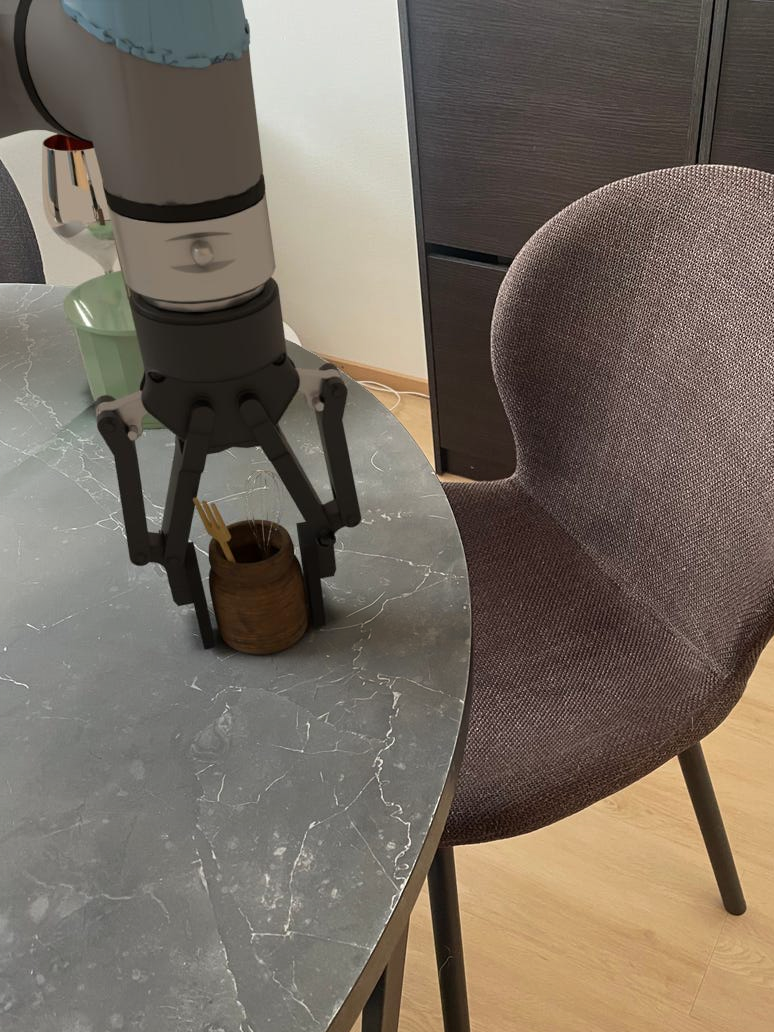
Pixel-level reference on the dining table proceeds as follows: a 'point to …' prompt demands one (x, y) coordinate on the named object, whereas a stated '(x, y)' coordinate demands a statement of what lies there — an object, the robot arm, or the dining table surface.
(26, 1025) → the dining table surface
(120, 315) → the pot lid
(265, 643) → the utensil holder
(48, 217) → the wineglass
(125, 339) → the pot
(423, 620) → the dining table surface
